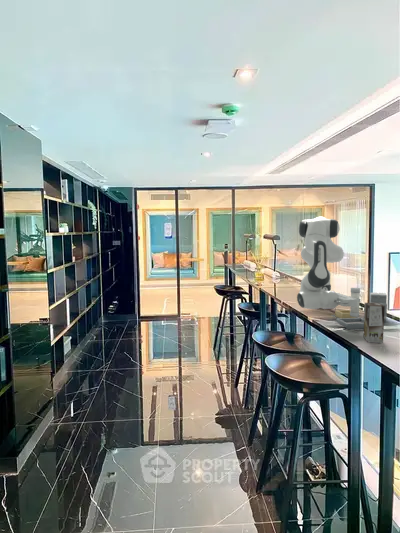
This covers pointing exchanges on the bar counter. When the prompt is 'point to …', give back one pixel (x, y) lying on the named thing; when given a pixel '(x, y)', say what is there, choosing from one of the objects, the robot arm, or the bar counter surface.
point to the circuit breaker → (379, 300)
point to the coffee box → (374, 322)
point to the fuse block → (342, 314)
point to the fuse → (356, 294)
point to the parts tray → (351, 325)
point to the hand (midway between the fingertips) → (356, 299)
